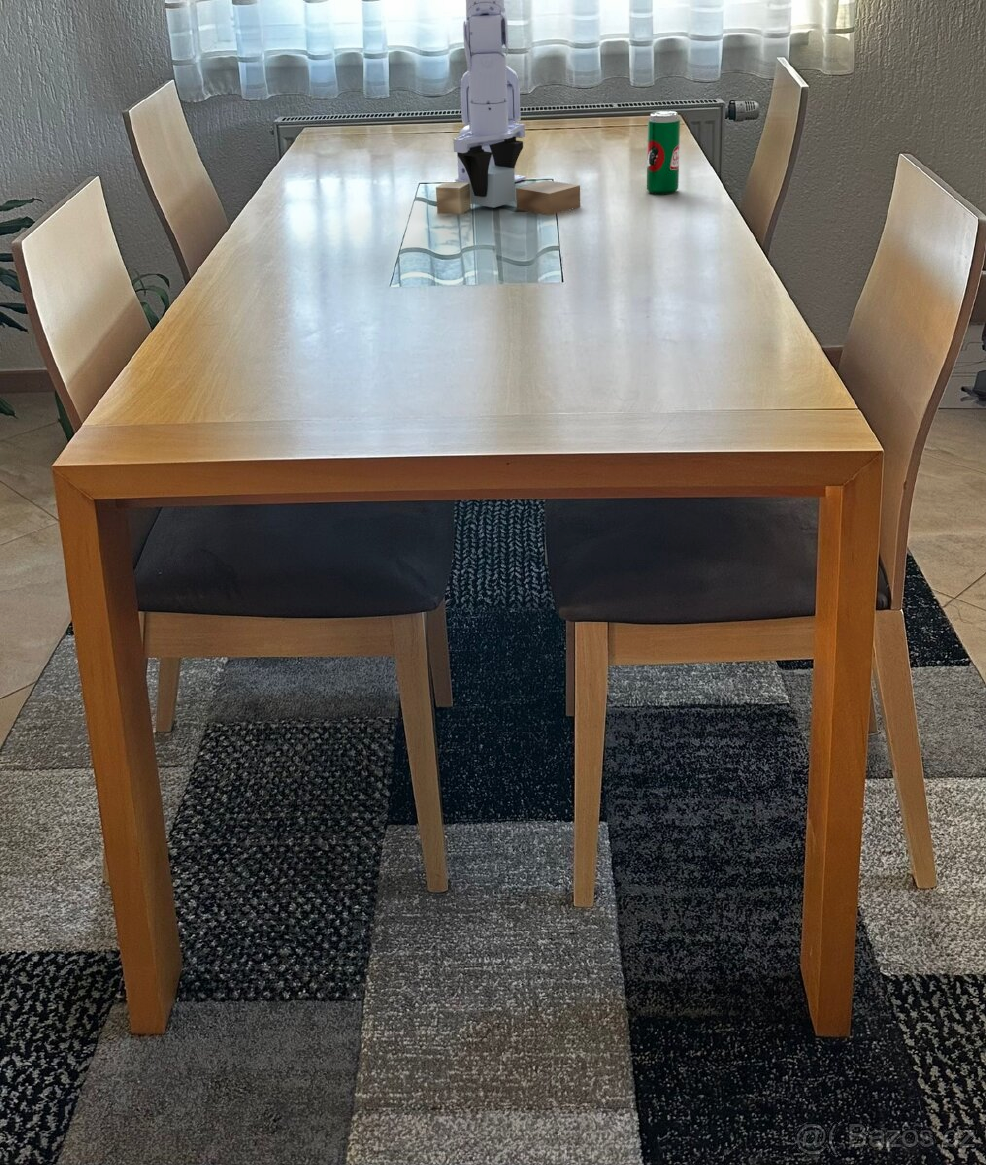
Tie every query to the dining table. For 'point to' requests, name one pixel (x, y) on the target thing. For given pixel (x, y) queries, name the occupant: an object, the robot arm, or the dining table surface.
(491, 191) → the light grey cube
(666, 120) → the soda can
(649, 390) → the dining table surface
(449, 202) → the oak block
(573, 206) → the walnut base
